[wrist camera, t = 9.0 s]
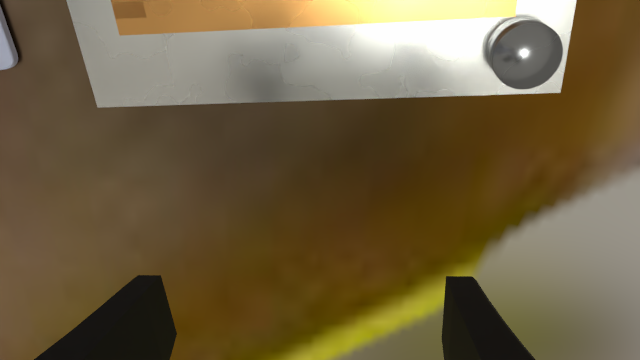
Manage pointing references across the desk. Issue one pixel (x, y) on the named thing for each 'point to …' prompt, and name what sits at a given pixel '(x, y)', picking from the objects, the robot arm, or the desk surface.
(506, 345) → the robot arm
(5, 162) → the desk surface
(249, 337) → the desk surface
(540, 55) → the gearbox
